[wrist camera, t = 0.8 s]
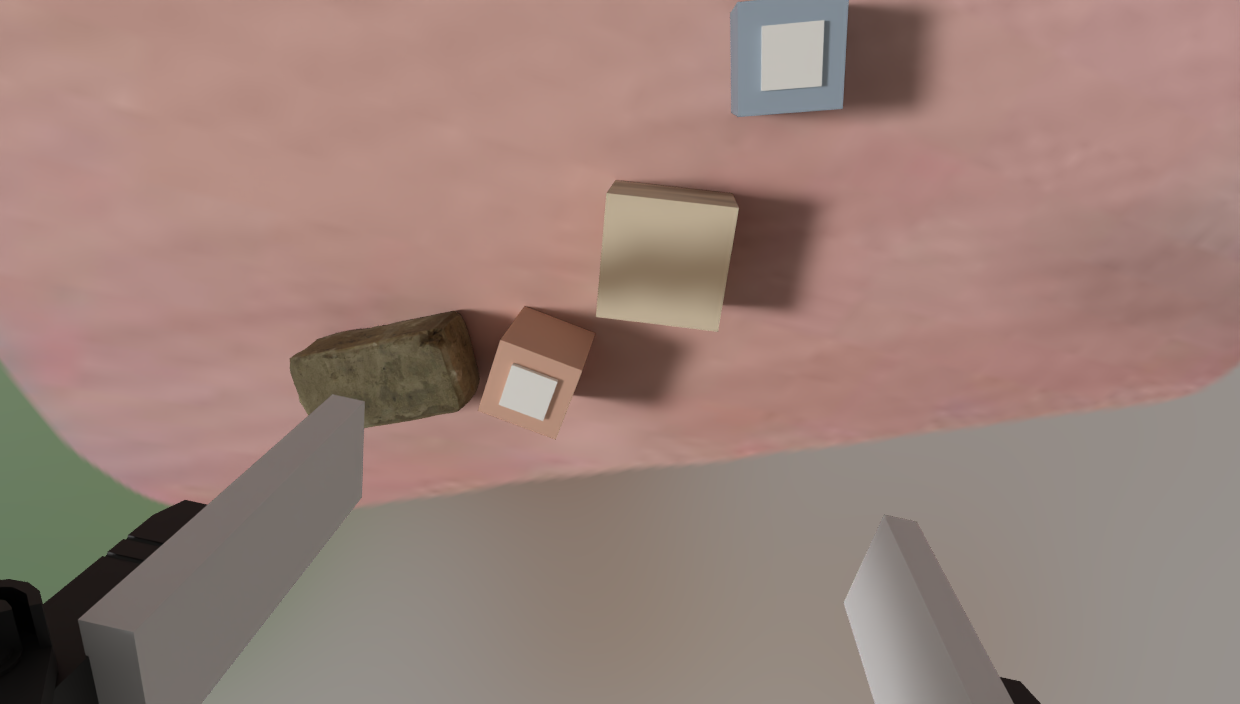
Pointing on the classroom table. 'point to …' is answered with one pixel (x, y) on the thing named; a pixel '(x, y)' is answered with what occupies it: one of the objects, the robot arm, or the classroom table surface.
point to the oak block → (665, 254)
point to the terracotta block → (536, 372)
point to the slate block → (787, 56)
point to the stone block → (392, 369)
